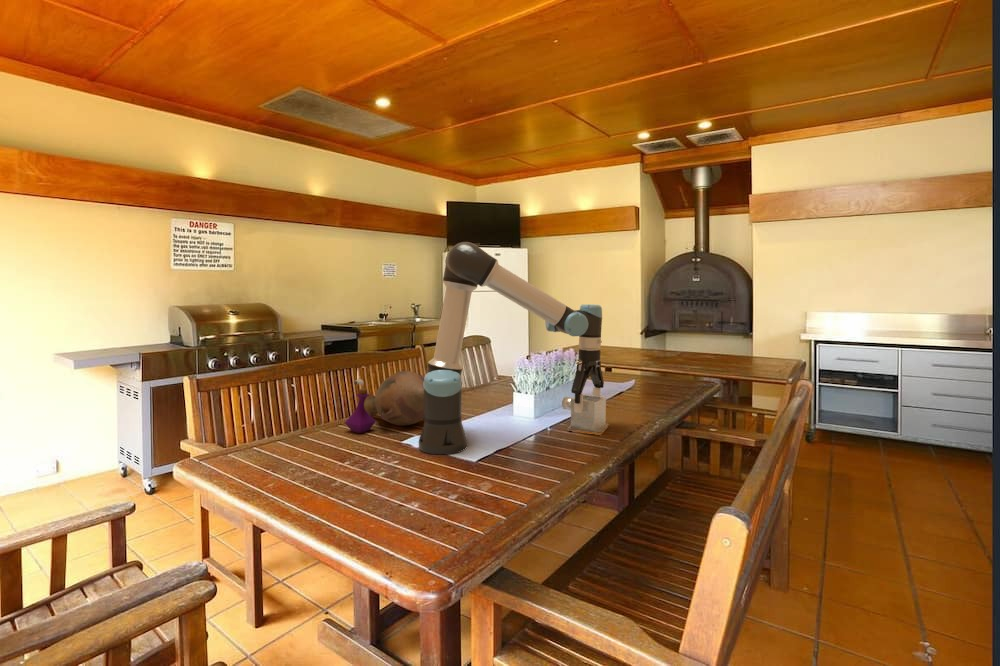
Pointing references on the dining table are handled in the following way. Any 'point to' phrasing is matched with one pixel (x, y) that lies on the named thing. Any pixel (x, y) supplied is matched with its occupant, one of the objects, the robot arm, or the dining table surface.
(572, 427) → the duct stub
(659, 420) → the dining table surface
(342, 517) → the dining table surface
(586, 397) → the collar
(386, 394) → the jug
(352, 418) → the perfume bottle
